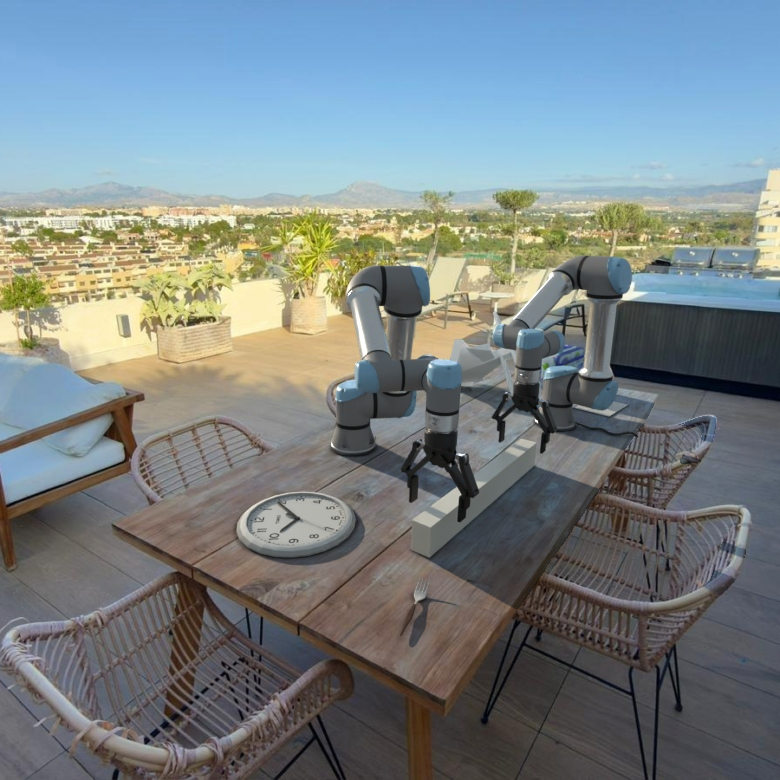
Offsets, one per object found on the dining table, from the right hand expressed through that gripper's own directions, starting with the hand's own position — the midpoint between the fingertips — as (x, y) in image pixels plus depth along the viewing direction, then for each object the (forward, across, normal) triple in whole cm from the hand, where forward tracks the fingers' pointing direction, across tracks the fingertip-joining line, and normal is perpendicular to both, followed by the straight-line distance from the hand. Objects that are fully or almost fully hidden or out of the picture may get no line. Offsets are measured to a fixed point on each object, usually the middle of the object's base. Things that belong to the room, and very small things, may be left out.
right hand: (521, 446), depth 163 cm
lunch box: (+11, -20, +94) cm, 97 cm away
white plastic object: (+10, -48, +66) cm, 82 cm away
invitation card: (+11, +2, +81) cm, 82 cm away
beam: (+7, 0, -25) cm, 26 cm away
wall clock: (+6, -32, -65) cm, 73 cm away
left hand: (-1, 0, -49) cm, 49 cm away
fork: (+6, +9, -73) cm, 74 cm away
